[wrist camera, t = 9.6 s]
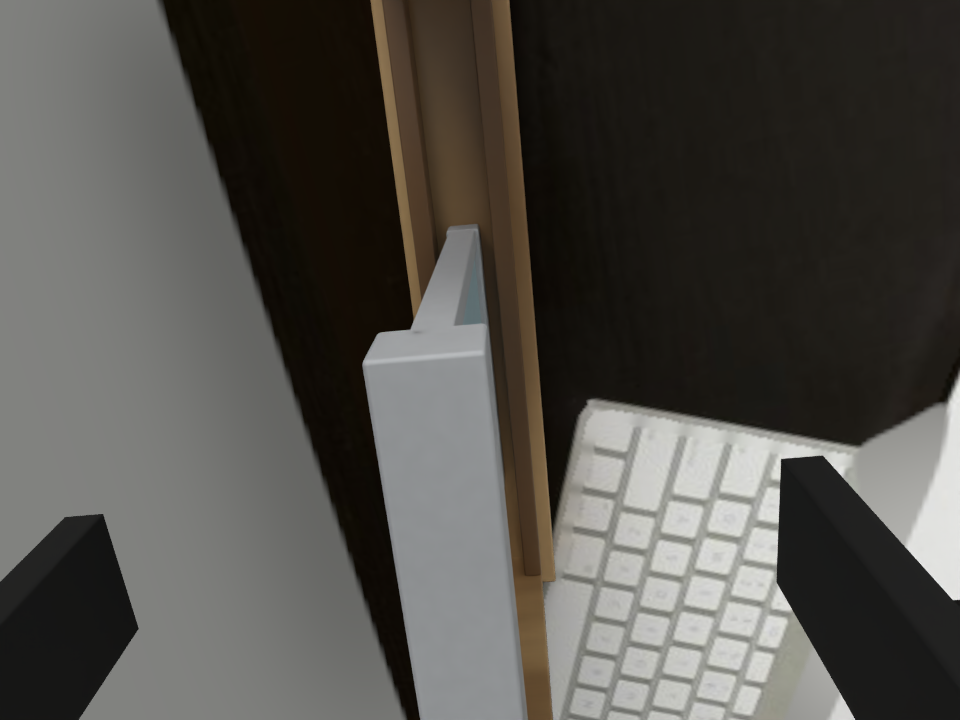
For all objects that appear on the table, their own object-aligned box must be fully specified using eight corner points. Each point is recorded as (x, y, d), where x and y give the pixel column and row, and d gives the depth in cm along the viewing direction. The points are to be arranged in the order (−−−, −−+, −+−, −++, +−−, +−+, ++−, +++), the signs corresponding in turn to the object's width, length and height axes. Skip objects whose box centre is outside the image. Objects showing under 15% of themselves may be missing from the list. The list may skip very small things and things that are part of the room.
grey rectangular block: (462, 479, 27) (429, 784, 15) (432, 227, 24) (359, 361, 12) (519, 475, 27) (530, 780, 15) (494, 221, 24) (485, 350, 12)
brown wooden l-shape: (452, 565, 30) (406, 991, 16) (368, -70, 22) (133, -347, 8) (553, 558, 30) (597, 985, 15) (501, -86, 22) (495, -402, 8)
